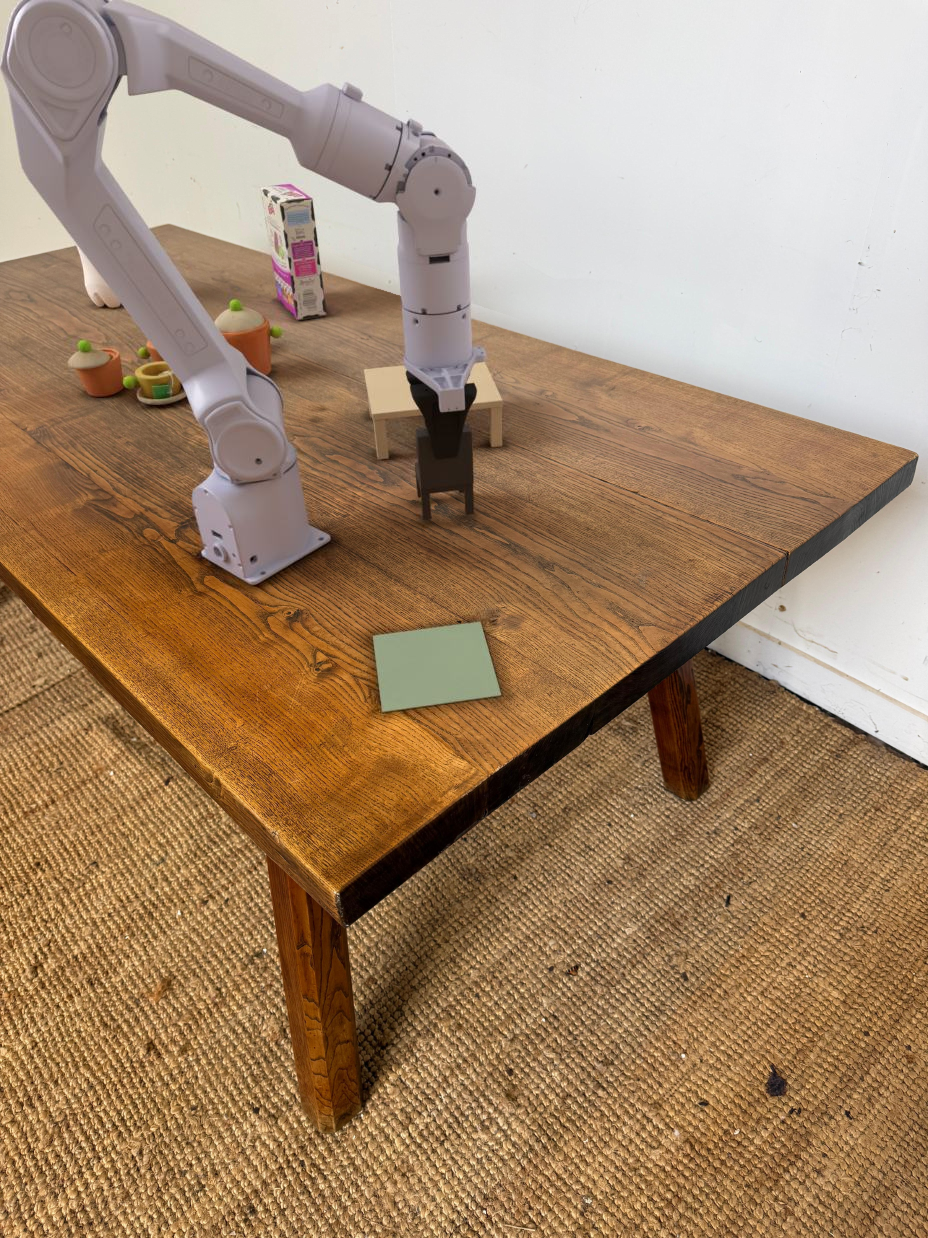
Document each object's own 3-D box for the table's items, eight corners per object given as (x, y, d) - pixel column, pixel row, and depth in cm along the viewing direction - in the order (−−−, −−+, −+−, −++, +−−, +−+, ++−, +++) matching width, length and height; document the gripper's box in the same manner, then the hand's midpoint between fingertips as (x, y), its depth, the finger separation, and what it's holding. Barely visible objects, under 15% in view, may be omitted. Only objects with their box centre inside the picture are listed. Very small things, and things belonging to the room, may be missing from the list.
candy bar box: (329, 315, 131) (314, 197, 121) (297, 321, 130) (278, 202, 120) (307, 294, 139) (291, 181, 129) (277, 299, 138) (257, 185, 128)
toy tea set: (250, 337, 126) (237, 267, 120) (302, 370, 116) (290, 296, 110) (67, 388, 114) (42, 313, 108) (106, 429, 104) (81, 350, 98)
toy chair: (475, 516, 85) (472, 431, 79) (423, 522, 85) (417, 437, 79) (465, 488, 89) (462, 405, 84) (417, 494, 89) (410, 411, 83)
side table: (503, 446, 97) (502, 399, 94) (377, 460, 96) (371, 413, 92) (484, 400, 106) (483, 356, 103) (368, 413, 105) (363, 368, 102)
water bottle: (81, 308, 138) (26, 129, 122) (108, 293, 143) (58, 119, 128) (121, 311, 136) (69, 129, 121) (146, 296, 142) (100, 119, 126)
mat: (501, 696, 66) (501, 695, 66) (382, 712, 65) (382, 711, 65) (480, 622, 73) (480, 621, 73) (372, 636, 72) (372, 635, 72)
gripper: (500, 329, 67) (502, 484, 76) (469, 271, 79) (473, 412, 87) (409, 338, 67) (421, 494, 75) (390, 278, 78) (403, 420, 86)
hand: (444, 451), depth 81 cm, fingers closed on toy chair
